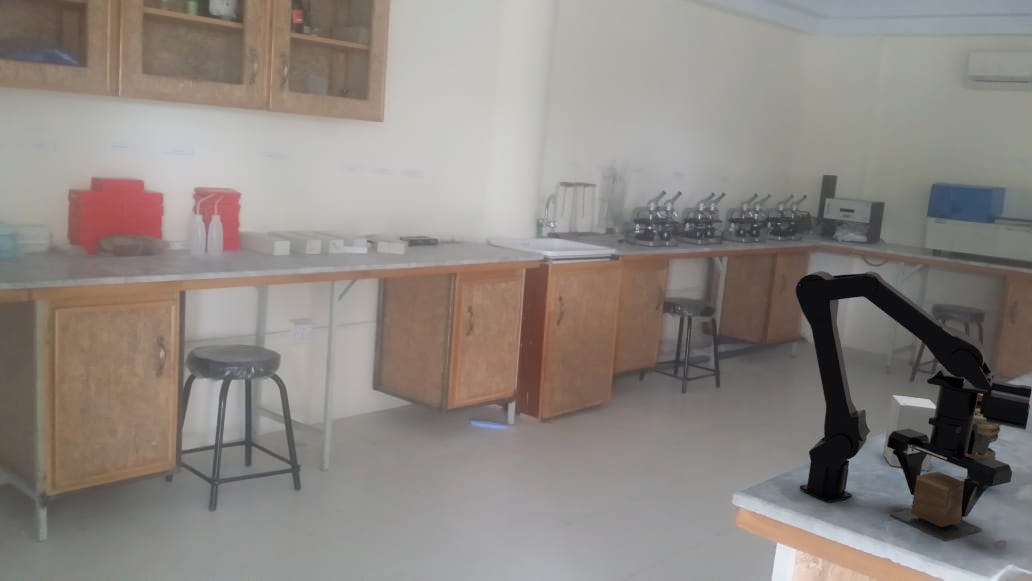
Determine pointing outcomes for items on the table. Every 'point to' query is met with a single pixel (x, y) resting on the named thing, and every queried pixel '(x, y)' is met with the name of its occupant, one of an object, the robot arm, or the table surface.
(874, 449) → the table surface
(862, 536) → the table surface
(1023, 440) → the table surface
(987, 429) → the light bulb
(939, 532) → the gray square base stand
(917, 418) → the supplement box
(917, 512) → the cardboard carton
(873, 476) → the table surface
